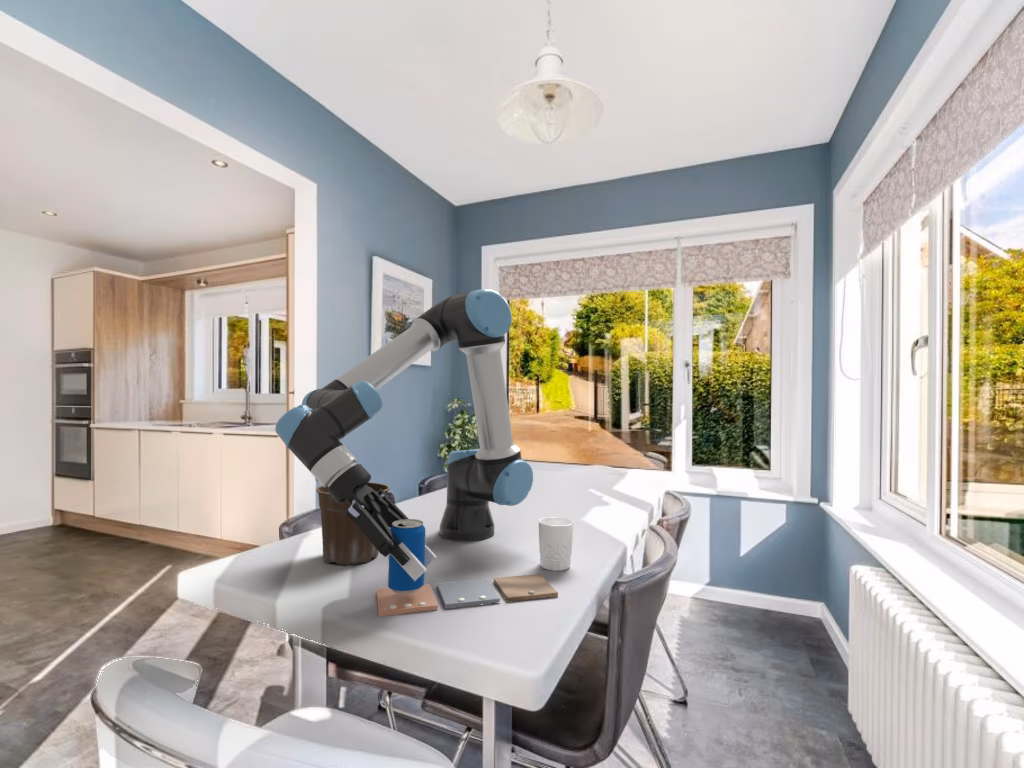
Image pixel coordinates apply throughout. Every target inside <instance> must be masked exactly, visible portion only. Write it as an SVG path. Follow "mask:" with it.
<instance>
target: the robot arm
mask: <svg viewBox="0 0 1024 768" xmlns="http://www.w3.org/2000/svg"><path fill="white" fill-rule="evenodd" d="M512 319H513V318H512V310H511V308H510V305H509V303H508V301H507V300H506V298H505V297H504V296H502V295H501V294H500V292H497V291H496V290H493V289H487V288H486V289H485V288H484V289H476V290H471V291H467V292H463V293H460V294H455V295H451V296H448V297H446V298H443V299H442V300H440V301H438V302H437V303H435V304H434V305H433V306H431V307H430V308H429V309H427V310H426V311H425V312H423V313H422V314H421V315H419V316H418V317H416V318H415V319H414V320H413V321H412V323H411V326H410V327H409V328H407V329H406V330H405V331H403V332H402V333H400V334H399V335H397V336H396V337H394V338H393V339H391V340H389V341H388V342H387V343H386V344H384V345H382V346H381V347H380V348H379V349H377V350H375V351H374V352H373V353H372V354H370V355H369V356H366V358H364V359H362V360H361V361H360V362H358V363H357V364H355V365H354V366H352V367H351V368H349V369H348V370H347V371H345V372H344V373H342V374H341V375H339V376H337V378H335V379H334V380H332V381H331V382H329V383H328V384H326V385H325V386H323V387H322V388H318V389H314V390H311V391H310V392H308V393H307V394H306V395H305V396H304V397H303V399H302V400H301V404H299V405H298V406H295V407H293V408H291V409H289V410H288V411H286V412H285V413H284V414H283V415H282V416H281V417H280V418H279V419H278V421H277V422H276V424H275V429H274V430H275V433H276V434H277V436H278V437H279V438H280V439H281V441H282V442H283V444H284V445H285V446H286V448H287V449H288V450H290V452H291V453H293V455H294V456H296V458H297V459H298V460H299V461H300V463H302V465H304V467H305V468H307V470H308V471H309V472H310V473H311V475H312V476H313V477H314V480H315V481H316V482H318V483H320V485H321V486H323V487H329V488H328V493H329V494H330V495H331V496H332V497H333V498H334V499H335V501H336V502H337V503H338V504H343V503H345V502H348V504H349V506H350V508H349V509H348V510H347V511H346V512H345V514H346V515H347V516H348V517H349V518H350V519H352V520H353V521H354V522H355V523H356V525H357V526H358V527H359V528H360V529H361V531H362V532H363V533H364V534H365V535H366V537H367V538H368V539H369V540H370V541H371V543H372V544H373V545H374V546H375V548H376V549H377V550H378V553H379V554H381V556H383V557H385V558H386V557H387V556H389V554H391V555H392V556H393V557H394V559H395V560H396V561H397V562H398V563H399V564H400V565H401V566H402V568H403V569H404V570H405V571H406V572H407V573H408V574H409V575H410V576H411V578H412V579H413V580H414V581H416V580H417V579H418V578H419V577H420V576H421V575H422V574H423V573H424V574H425V572H426V571H427V568H426V567H428V566H429V564H430V563H432V562H433V561H434V559H436V558H437V555H436V554H435V553H434V552H433V551H432V550H431V549H430V548H429V547H428V546H427V544H425V566H423V564H422V563H421V562H420V561H419V560H418V559H417V558H416V557H415V556H414V554H413V553H412V552H411V551H410V550H409V549H408V548H407V547H406V546H405V545H404V544H403V543H401V544H400V545H399V542H398V540H397V539H396V537H395V536H394V534H393V533H392V531H391V530H390V529H391V527H392V526H393V525H392V523H393V522H394V521H397V520H403V519H409V517H408V516H407V515H406V514H405V513H404V512H402V509H400V508H399V507H398V506H397V505H396V504H395V503H394V502H393V501H392V500H391V498H389V496H388V494H387V495H386V494H385V492H384V491H383V490H382V489H380V490H379V491H378V492H376V491H375V490H373V489H372V488H371V487H370V486H368V482H371V479H372V475H371V474H370V473H369V472H368V471H367V470H366V468H365V467H364V466H363V465H362V464H361V463H360V464H359V463H357V462H358V459H357V458H356V457H355V456H354V454H352V452H351V451H350V450H349V449H348V448H347V446H345V445H344V444H343V443H342V442H341V441H340V440H342V439H343V438H344V437H346V436H347V435H349V434H351V433H352V432H353V431H355V430H356V429H358V428H359V427H361V426H362V425H363V424H364V423H367V422H368V421H369V420H371V419H373V417H374V416H375V415H377V414H378V413H379V412H380V411H381V410H382V408H383V404H384V403H383V399H382V396H381V394H380V393H379V391H378V390H379V389H380V388H382V387H383V386H384V385H385V384H387V383H389V381H392V379H394V378H395V377H397V376H398V375H400V374H401V373H402V372H404V370H406V369H408V368H409V367H410V366H411V365H413V364H414V363H415V362H417V361H418V360H419V359H421V358H422V357H424V356H425V355H426V354H428V353H429V352H430V351H431V352H436V351H438V350H440V349H441V348H442V347H443V346H445V345H447V344H451V343H454V342H455V343H456V342H457V343H458V349H459V351H461V352H462V353H464V354H465V356H466V362H467V368H468V375H469V376H468V377H469V381H470V389H471V395H472V403H473V409H474V410H473V411H474V416H475V422H476V430H477V437H478V442H479V443H478V444H479V449H465V450H463V449H462V450H452V451H450V453H449V454H448V456H447V462H446V505H445V509H444V511H443V514H442V517H441V521H440V522H439V530H438V531H439V533H438V534H439V536H441V537H442V538H445V539H449V540H454V541H466V542H467V541H480V540H484V539H488V538H491V537H492V536H493V535H495V523H494V519H493V516H492V513H491V508H490V505H489V502H490V503H491V502H492V503H493V504H494V503H495V504H497V505H499V506H509V507H513V506H516V505H519V504H521V503H522V502H524V500H525V499H526V498H527V497H528V495H529V492H531V490H532V487H533V482H534V472H533V468H532V466H531V464H530V463H528V462H527V461H526V460H523V459H522V453H521V447H519V446H518V445H517V444H516V443H514V438H513V437H514V436H513V431H512V430H513V429H512V426H511V425H512V424H511V418H510V410H509V409H510V408H509V403H508V395H507V388H506V382H505V381H506V380H505V374H504V368H503V367H504V365H503V361H502V351H501V350H502V348H503V346H504V345H505V344H506V337H505V335H506V334H507V333H508V331H509V330H510V326H511V325H512Z"/></svg>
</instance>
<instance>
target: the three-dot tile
mask: <svg viewBox="0 0 1024 768" xmlns="http://www.w3.org/2000/svg"><path fill="white" fill-rule="evenodd" d="M435 598H436V597H435V595H434V592H433V590H432V585H431V584H429V583H427V584H425V583H424V585H423V586H422V587H421V588H420V589H419V590H418V591H416V592H414V593H410V594H398V593H395V592H393V591H392V590H391V589H390V588H389V587H386V588H377V589H376V602H377V613H378V614H377V616H378V617H383V616H392V615H393V616H394V615H402V614H411V613H420V612H428V611H429V612H430V611H437V610H438V603H437V601H436V599H435Z"/></svg>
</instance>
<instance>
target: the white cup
mask: <svg viewBox="0 0 1024 768" xmlns="http://www.w3.org/2000/svg"><path fill="white" fill-rule="evenodd" d="M573 538H574V521H573V520H572V519H569V518H566V517H559V516H554V517H553V516H550V517H549V516H547V517H542V518H540V519H538V543H539V545H538V546H539V549H538V551H539V565H540V566H541V568H542V569H545V570H548V571H556V572H558V571H559V572H560V571H566V570H568V569H569V568H570V567H571V557H572V552H573V551H572V549H573V540H574V539H573Z"/></svg>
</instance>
